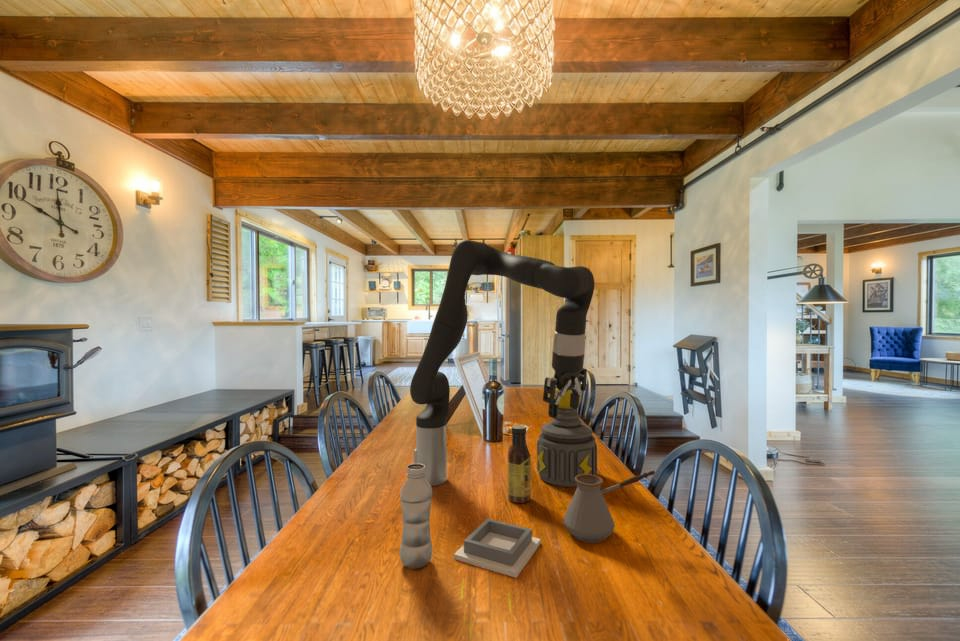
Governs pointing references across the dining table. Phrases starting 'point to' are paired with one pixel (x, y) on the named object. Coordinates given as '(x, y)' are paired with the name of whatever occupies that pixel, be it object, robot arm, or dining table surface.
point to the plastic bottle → (416, 518)
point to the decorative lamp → (566, 447)
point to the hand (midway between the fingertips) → (563, 412)
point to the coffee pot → (593, 508)
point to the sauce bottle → (518, 467)
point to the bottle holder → (499, 547)
